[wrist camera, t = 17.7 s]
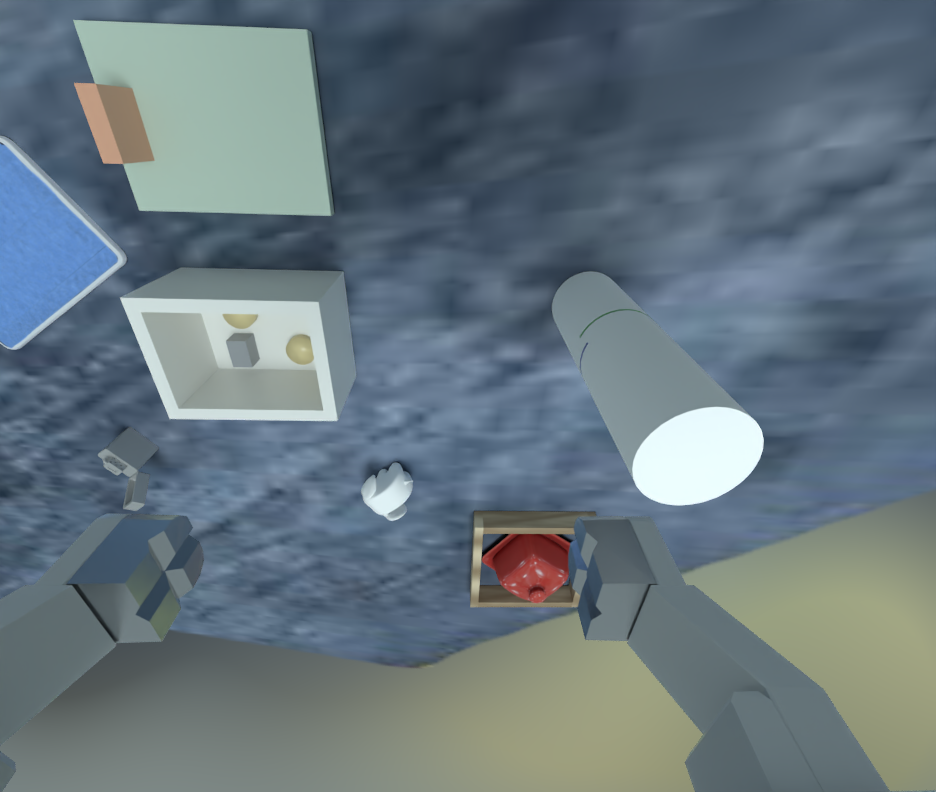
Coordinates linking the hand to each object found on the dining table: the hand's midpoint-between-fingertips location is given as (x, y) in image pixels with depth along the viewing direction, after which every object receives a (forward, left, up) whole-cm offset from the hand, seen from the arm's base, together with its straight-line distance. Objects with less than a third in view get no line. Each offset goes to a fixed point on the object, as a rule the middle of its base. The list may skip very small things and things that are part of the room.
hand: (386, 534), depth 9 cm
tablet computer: (+4, -42, -38) cm, 57 cm away
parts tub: (+11, -18, -37) cm, 43 cm away
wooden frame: (+48, +13, -37) cm, 62 cm away
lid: (-7, -19, -37) cm, 42 cm away
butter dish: (+47, +13, -38) cm, 62 cm away
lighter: (+28, -37, -37) cm, 59 cm away
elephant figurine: (+32, -7, -37) cm, 50 cm away
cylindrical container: (+8, +15, -37) cm, 41 cm away
